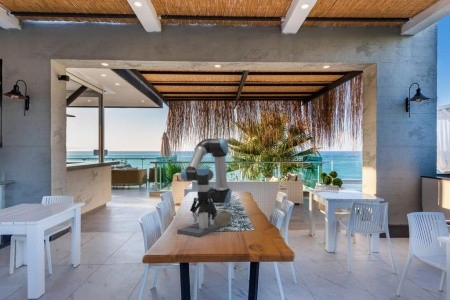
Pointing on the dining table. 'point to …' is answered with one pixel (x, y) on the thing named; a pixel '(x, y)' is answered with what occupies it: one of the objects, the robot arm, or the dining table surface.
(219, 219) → the fossil tooth
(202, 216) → the fader
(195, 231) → the console
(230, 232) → the dining table surface
